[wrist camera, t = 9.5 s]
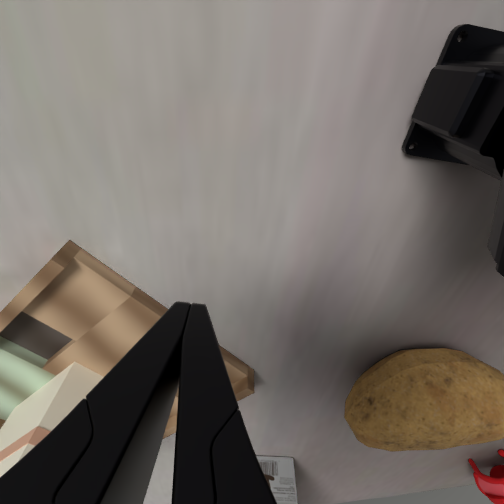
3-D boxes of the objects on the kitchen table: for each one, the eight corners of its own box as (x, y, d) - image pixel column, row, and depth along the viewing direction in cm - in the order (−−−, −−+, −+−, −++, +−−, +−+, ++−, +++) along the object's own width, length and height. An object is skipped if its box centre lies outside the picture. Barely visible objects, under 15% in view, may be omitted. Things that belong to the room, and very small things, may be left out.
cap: (464, 483, 40) (488, 523, 40) (519, 488, 36) (546, 533, 36) (467, 437, 46) (488, 472, 46) (514, 437, 42) (537, 475, 42)
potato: (325, 344, 29) (347, 430, 22) (480, 312, 27) (557, 397, 20) (339, 398, 34) (361, 481, 28) (471, 375, 32) (529, 459, 25)
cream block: (74, 361, 28) (11, 472, 21) (128, 389, 31) (89, 497, 23) (13, 407, 33) (-57, 514, 25) (65, 428, 35) (15, 531, 28)
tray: (69, 240, 22) (50, 259, 20) (253, 369, 31) (254, 392, 29) (-67, 383, 32) (-89, 406, 30) (103, 451, 41) (95, 472, 39)
